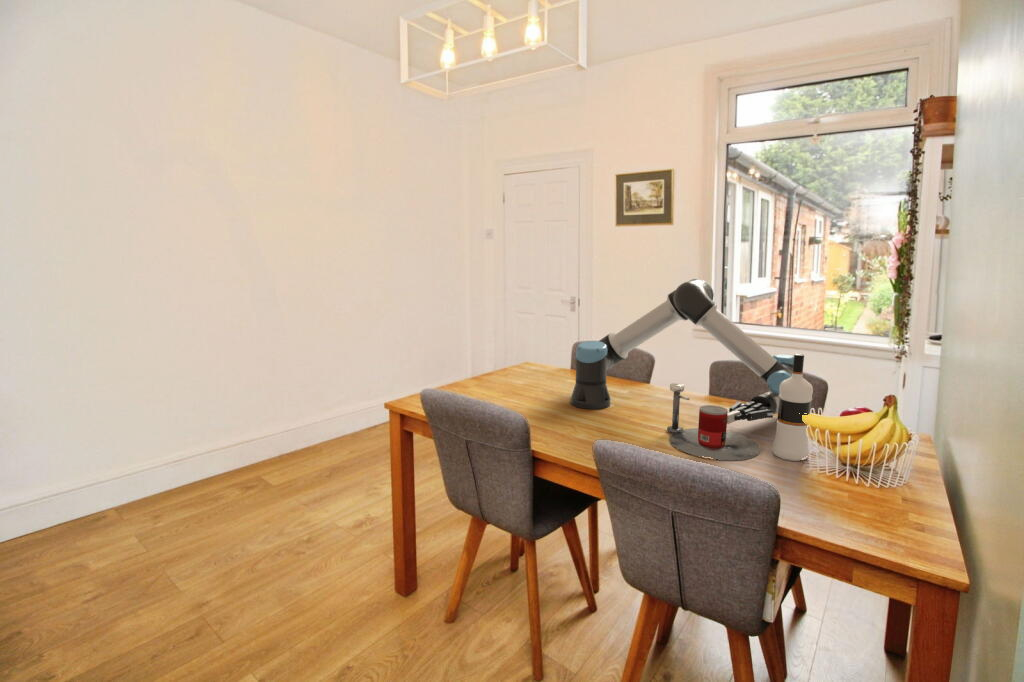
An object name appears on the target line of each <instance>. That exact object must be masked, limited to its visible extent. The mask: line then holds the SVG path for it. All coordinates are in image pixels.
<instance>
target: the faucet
mask: <svg viewBox="0 0 1024 682" xmlns="http://www.w3.org/2000/svg"><path fill="white" fill-rule="evenodd" d="M669 391H672V392H673V395H672V396H673V397H672V399H673V400H672V401H673V402H672V418H671V419H672V421H671V425H668V426H667V428H666V431H668V433H669V432H670V433H669V434H672V433H682V432H683V430H684V428H683V427H681V426H679V425H680V422H679V420H680V405H681V404H680V403H681V399H682V400H686V401H690V400H691V399H690V397H688V396H687V397H686V396H683V395H681V393H683V392H685V384H683V383H678V382H677V383H670V385H669Z"/></svg>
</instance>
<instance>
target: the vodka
mask: <svg viewBox="0 0 1024 682" xmlns="http://www.w3.org/2000/svg"><path fill="white" fill-rule="evenodd" d="M793 356H794V360H793V372H792V377H790V378H788V379H786V380H784V381H782V382H781V384H780V387H779V391H780V394H779V407H778V413H777V419H776V421H775V422H776V430H775V437H774V442H773V444H772V449H771V450H772V453H773V455H774V456H776V457H777V458H779V459H782V460H785V461H790V462H801V461H800V460H801V459H802V458H804V457H806V456H808V454H809V453H810V451H809V436H808V437H807V435H806V428H807V425H806V424H805V423H804V422H803V421H802V415H808V414H811V405H812V401H813V393H814V389H813V388H814V387H813V385H812V384H811V383H810V382H809V381H808V380H807V379H805V378H804V375H803V372H804V361H805V355H804V354H803V353H802V354H801V353H794V354H793ZM799 413H800V414H799ZM804 413H807V414H804ZM809 455H810V454H809ZM808 457H809V456H808Z"/></svg>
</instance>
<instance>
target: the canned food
mask: <svg viewBox="0 0 1024 682" xmlns="http://www.w3.org/2000/svg"><path fill="white" fill-rule="evenodd" d="M698 411H699V413H698V442H699V443H700V444H701V445H703V446H706V447H712V448H720V447H723V446H724V445H725V443H726V431H727V428H728V427H727V425H728V424H727V414H728V413H729V411H728V409H727V408H725V407H722V406H720V405H713V404H712V405H711V404H707V405H706V404H705V405H701V406H699V410H698Z"/></svg>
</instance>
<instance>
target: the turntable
mask: <svg viewBox="0 0 1024 682" xmlns="http://www.w3.org/2000/svg"><path fill="white" fill-rule="evenodd" d="M669 440H670V441H669V443H670V442H671V443H670V444H671V446H672V447H674V446H675V447H676V448H678V449H679V450H678V449H677V450H678V451H680V450H682V451H684V452H686V453H685V454H687V453H688V454H687V455H690V454H691V455H690V456H693V455H695V456H694V457H696V456H700V457H702V456H704V457H711V458H713V459H718V460H717V461H721V460H723V461H726V462H737V461H744V460H745V461H746V460H750V459H753V458H755V457H757V456H758V455H759V454H760V453H761V447H760V445H759V444H758V443H757V442H756V441H754V440H753V439H751V438H750V437H747V436H745V435H742V434H740V433H736V432H733V431H728V430H726V443H725V445H724V446H723V447H720V448H712V447H706V446H703V445H701V444H700V443H699V442H698V428H697V427H695V428H693V427H692V428H686V429H683V432H682V433H673V434H672V433H671V434H670V436H669ZM675 447H674V448H675ZM676 448H675V449H676ZM682 451H681V452H682ZM684 452H683V453H684ZM700 457H699V458H700ZM723 461H722V462H723Z"/></svg>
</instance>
